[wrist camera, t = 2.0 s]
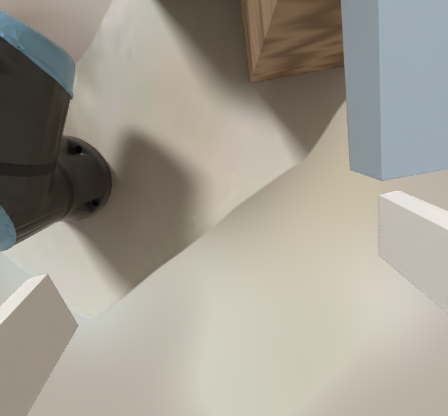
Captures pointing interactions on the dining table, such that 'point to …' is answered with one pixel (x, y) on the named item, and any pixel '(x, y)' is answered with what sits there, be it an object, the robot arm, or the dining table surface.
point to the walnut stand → (291, 37)
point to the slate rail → (396, 86)
